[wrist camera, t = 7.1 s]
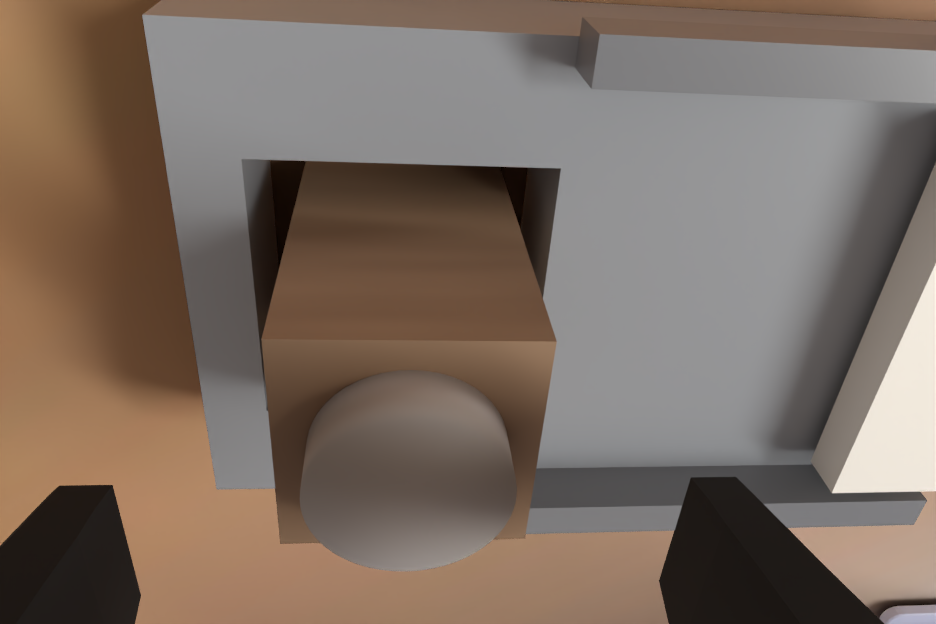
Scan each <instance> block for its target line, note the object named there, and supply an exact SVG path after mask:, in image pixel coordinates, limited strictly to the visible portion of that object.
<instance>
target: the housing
mask: <svg viewBox="0 0 936 624" xmlns="http://www.w3.org/2000/svg"><path fill="white" fill-rule="evenodd" d="M142 17H143V24H144V30H145V36H146V43H147V49H148V55H149V62H150V68H151V75H152V81H153V87H154V94H155V100H156V106H157V113H158V119H159V125H160V132H161V138H162V145H163V151H164V157H165V164H166V170H167V176H168V183H169V189H170V195H171V202H172V208H173V215H174V221H175V227H176V234H177V240H178V246H179V253H180V259H181V265H182V272H183V278H184V285H185V291H186V297H187V304H188V310H189V316H190V323H191V329H192V335H193V342H194V348H195V355H196V361H197V367H198V374H199V380H200V386H201V393H202V399H203V405H204V412H205V418H206V425H207V431H208V437H209V444H210V450H211V456H212V463H213V469H214V475H215V482H216V488H217V489H270V488H275V481H274V470H273V459H272V448H271V438H270V427H269V416H268V405H267V394H266V383H265V373H264V362H263V351H262V340H261V339H262V335H263V331H264V327H265V323H266V319H267V315H268V311H269V307H270V303H271V299H272V295H273V291H274V287H275V283H276V279H277V275H278V271H279V266H278V253H277V241H276V228H275V215H274V202H273V190H272V177H271V164H270V160H293V161H326V162H360V163H394V164H427V165H461V166H495V167H528V170H527V179H526V188H525V196H524V205H523V214H522V223H521V233H522V236H523V239H524V242H525V246H526V249H527V252H528V255H529V258H530V261H531V264H532V267H533V270H534V273H535V276H536V279H537V282H538V285H539V288H540V292H541V295H542V298H543V301H544V304H545V307H546V310H547V313H548V316H549V319H550V322H551V325H552V328H553V331H554V334H555V338H556V341H557V344H556V350H555V356H554V362H553V368H552V374H551V381H550V387H549V393H548V399H547V405H546V412H545V418H544V424H543V430H542V436H541V443H540V449H539V455H538V461H537V467H536V473H535V480H534V486H533V492H532V498H531V504H530V511H529V517H528V523H527V529H526V534H545V533H587V532H630V531H672V530H675V528H676V524H677V521H678V518H679V515H680V511H681V508H682V505H683V501H684V498H685V495H686V492H687V488H688V485H689V482H690V479H691V477H737V478H738V479H739V480H740V481H741V482H742V483H743V484H744V485H745V486H746V487H747V488H748V489H749V490H750V491H751V492H752V493H753V494H754V495H755V496H756V497H757V498H758V499H759V500H760V501H761V502H762V503H763V504H764V505H765V506H766V507H767V508H768V509H769V510H770V511H771V512H772V513H773V514H774V515H775V516H776V517H777V518H778V519H779V520H780V521H781V522H782V523H783V524H784V525H785V526H786V527H787V528H798V527H840V526H882V525H914V523H915V522H916V520H917V518H918V516H919V514H920V513H921V511H922V509H923V507H924V505H925V503H926V502H927V500H926V498H925V497H924V496H923V495H922V493H921V492H866V493H831V491H830V490H829V488H828V487H827V485H826V484H825V482H824V481H823V479H822V478H821V476H820V475H819V473H818V472H817V470H816V469H815V467H814V466H813V464H812V463H811V459H812V456H813V454H814V452H815V449H816V447H817V444H818V442H819V440H820V437H821V435H822V433H823V430H824V428H825V425H826V423H827V421H828V418H829V416H830V413H831V411H832V409H833V406H834V404H835V401H836V399H837V397H838V394H839V392H840V390H841V387H842V385H843V382H844V380H845V378H846V375H847V373H848V370H849V368H850V366H851V363H852V361H853V359H854V356H855V354H856V351H857V349H858V347H859V344H860V342H861V339H862V337H863V335H864V332H865V330H866V327H867V325H868V323H869V320H870V318H871V316H872V313H873V311H874V308H875V306H876V304H877V301H878V299H879V296H880V294H881V292H882V289H883V287H884V285H885V282H886V280H887V277H888V275H889V273H890V270H891V268H892V265H893V263H894V261H895V258H896V256H897V253H898V251H899V249H900V246H901V244H902V242H903V239H904V237H905V234H906V232H907V230H908V227H909V225H910V222H911V220H912V218H913V215H914V213H915V210H916V208H917V206H918V203H919V201H920V199H921V196H922V194H923V191H924V189H925V187H926V184H927V182H928V179H929V177H930V175H931V172H932V170H933V168H934V165H935V163H936V21H921V20H903V19H884V18H866V17H847V16H829V15H811V14H792V13H774V12H755V11H737V10H718V9H700V8H681V7H663V6H645V5H626V4H608V3H589V2H571V1H552V0H161V1H159V2H158V3H157V4H156V5H154V6H153V7H152V8H150V9H149V10H148V11H146V12H145V13H144V14H142Z"/></svg>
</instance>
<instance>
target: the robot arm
mask: <svg viewBox="0 0 936 624" xmlns="http://www.w3.org/2000/svg"><path fill="white" fill-rule="evenodd" d="M659 582H660V587H661V591H662V596H663V600H664V604H665V609H666V613H667V618H668V622H669V624H936V605H912V606H895V607H891V608H889V609H887V610H885V611H884V612H883V613H882V614H881V616H880V618H878V617H877V616H876V615H875V614H874V613H873V612H872V611H871V610H870V609H869V608H867V607H866V606H865V605H864V604H863V603H862V602H861V601H860V600H859V599H858V598H857V597H856V596H855V595H854V594H853V593H852V592H851V591H850V590H849V589H848V588H847V587H846V586H845V585H844V584H843V583H842V582H841V581H840V580H839V579H838V578H837V577H836V576H835V575H834V574H833V573H832V572H831V571H829V570H828V569H827V568H826V567H825V566H824V565H823V564H822V563H821V562H820V561H819V560H818V559H817V558H816V557H815V556H814V555H813V554H812V553H811V552H810V551H809V550H808V549H807V548H806V547H805V546H804V545H803V544H802V542H801V541H800V540H799V539H798V538H797V537H796V536H795V535H794V534H793V533H792V532H791V531H790V530H789V529H788V528H787V527H786V526H785V525H784V524H783V523H782V522H781V521H780V520H779V519H778V518H777V517H776V516H775V515H774V514H773V513H772V512H771V511H770V510H769V509H768V508H767V507H766V506H765V505H764V504H763V503H762V502H761V501H760V500H759V499H758V498H757V497H756V496H755V495H754V494H753V493H752V492H751V491H750V490H749V489H748V488H747V487H746V486H745V485H744V484H743V483H742V482H741V481H740V480H739V479H738V478H737V477H691V479H690V482H689V485H688V488H687V492H686V495H685V498H684V501H683V505H682V508H681V511H680V515H679V518H678V521H677V524H676V528H675V531H674V534H673V537H672V541H671V544H670V547H669V550H668V554H667V557H666V560H665V563H664V567H663V570H662V573H661V577H660V580H659ZM140 597H141V594H140V590H139V586H138V583H137V579H136V575H135V571H134V567H133V563H132V559H131V555H130V551H129V548H128V544H127V540H126V536H125V532H124V528H123V524H122V520H121V517H120V513H119V509H118V505H117V501H116V497H115V493H114V489H113V485H82V486H59V487H57V488H56V489H55V490H54V491H53V492H52V493H51V494H50V495H49V496H48V497H47V498H46V499H45V500H44V501H43V502H42V503H41V504H40V505H39V506H38V507H37V508H36V509H35V510H34V511H33V512H32V513H31V514H30V515H29V516H28V517H27V519H26V520H25V521H24V522H23V523H22V524H21V525H20V526H19V527H18V528H17V529H16V530H15V531H14V532H13V533H12V534H11V535H10V536H9V537H8V538H7V539H6V540H5V541H4V543H3V544H2V545H1V546H0V624H135V620H136V615H137V611H138V606H139V602H140Z"/></svg>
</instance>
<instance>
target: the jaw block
mask: <svg viewBox="0 0 936 624" xmlns="http://www.w3.org/2000/svg"><path fill="white" fill-rule="evenodd" d="M261 340H262V351H263V362H264V373H265V383H266V394H267V405H268V416H269V427H270V438H271V448H272V459H273V470H274V481H275V492H276V502H277V513H278V524H279V535H280V544H293V543H322V544H323V545H324V546H325V547H326V548H328V549H329V550H330V551H332V552H333V553H335V554H336V555H338V556H340V557H342V558H344V559H346V560H348V561H351V562H353V563H356V564H359V565H362V566H366V567H369V568H374V569H379V570H388V571H419V570H426V569H432V568H437V567H441V566H445V565H448V564H451V563H454V562H457V561H459V560H461V559H463V558H466V557H468V556H470V555H472V554H473V553H475V552H477V551H479V550H480V549H481V548H483V547H484V546H486V545H487V544H488V543H490V542H491V541H492V540H493V539H522V538H525V535H526V529H527V523H528V517H529V511H530V504H531V498H532V492H533V486H534V480H535V473H536V467H537V461H538V455H539V449H540V443H541V436H542V430H543V424H544V418H545V412H546V405H547V399H548V393H549V387H550V381H551V374H552V368H553V362H554V356H555V350H556V344H557V341H556V338H555V334H554V331H553V328H552V325H551V322H550V319H549V316H548V313H547V310H546V307H545V304H544V301H543V298H542V295H541V292H540V288H539V285H538V282H537V279H536V276H535V273H534V270H533V267H532V264H531V261H530V258H529V255H528V252H527V249H526V246H525V242H524V239H523V236H522V233H521V230H520V227H519V224H518V221H517V218H516V215H515V212H514V209H513V206H512V203H511V200H510V196H509V193H508V190H507V187H506V184H505V181H504V178H503V175H502V172H501V169H500V167H495V166H461V165H427V164H394V163H360V162H326V161H306V163H305V167H304V171H303V175H302V179H301V183H300V187H299V191H298V195H297V199H296V203H295V207H294V211H293V215H292V219H291V223H290V227H289V231H288V235H287V239H286V243H285V247H284V251H283V255H282V259H281V263H280V267H279V271H278V275H277V279H276V283H275V287H274V291H273V295H272V299H271V303H270V307H269V311H268V315H267V319H266V323H265V327H264V331H263V335H262V339H261Z"/></svg>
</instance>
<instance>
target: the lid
mask: <svg viewBox="0 0 936 624" xmlns="http://www.w3.org/2000/svg"><path fill="white" fill-rule="evenodd" d="M811 463H812V464H813V466H814V467H815V469H816V470H817V472H818V473H819V475H820V476H821V478H822V479H823V481H824V482H825V484H826V485H827V487H828V488H829V490H830V491H831V493H866V492H920V491H936V163H935V165H934V168H933V170H932V172H931V175H930V177H929V179H928V182H927V184H926V187H925V189H924V191H923V194H922V196H921V199H920V201H919V203H918V206H917V208H916V210H915V213H914V215H913V218H912V220H911V222H910V225H909V227H908V230H907V232H906V234H905V237H904V239H903V242H902V244H901V246H900V249H899V251H898V253H897V256H896V258H895V261H894V263H893V265H892V268H891V270H890V273H889V275H888V277H887V280H886V282H885V285H884V287H883V289H882V292H881V294H880V296H879V299H878V301H877V304H876V306H875V308H874V311H873V313H872V316H871V318H870V320H869V323H868V325H867V327H866V330H865V332H864V335H863V337H862V339H861V342H860V344H859V347H858V349H857V351H856V354H855V356H854V359H853V361H852V363H851V366H850V368H849V370H848V373H847V375H846V378H845V380H844V382H843V385H842V387H841V390H840V392H839V394H838V397H837V399H836V401H835V404H834V406H833V409H832V411H831V413H830V416H829V418H828V421H827V423H826V425H825V428H824V430H823V433H822V435H821V437H820V440H819V442H818V444H817V447H816V449H815V452H814V454H813V456H812V459H811Z"/></svg>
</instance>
